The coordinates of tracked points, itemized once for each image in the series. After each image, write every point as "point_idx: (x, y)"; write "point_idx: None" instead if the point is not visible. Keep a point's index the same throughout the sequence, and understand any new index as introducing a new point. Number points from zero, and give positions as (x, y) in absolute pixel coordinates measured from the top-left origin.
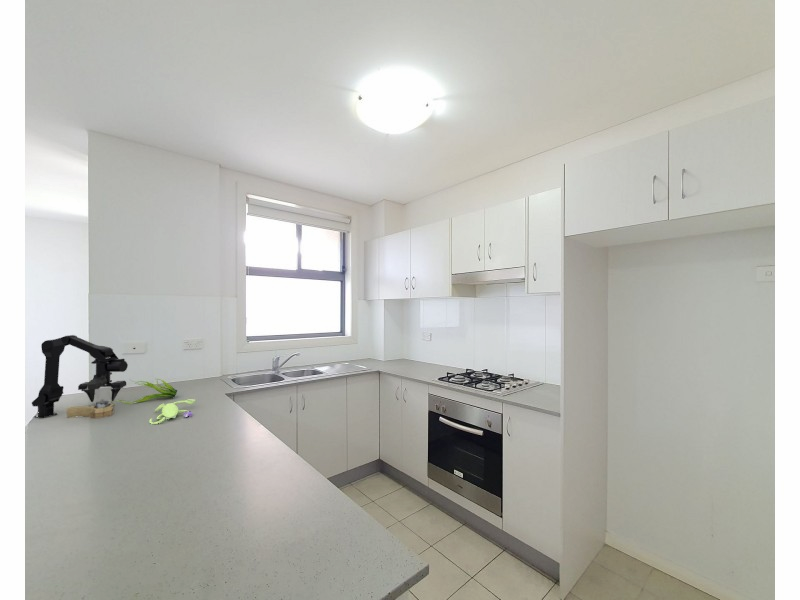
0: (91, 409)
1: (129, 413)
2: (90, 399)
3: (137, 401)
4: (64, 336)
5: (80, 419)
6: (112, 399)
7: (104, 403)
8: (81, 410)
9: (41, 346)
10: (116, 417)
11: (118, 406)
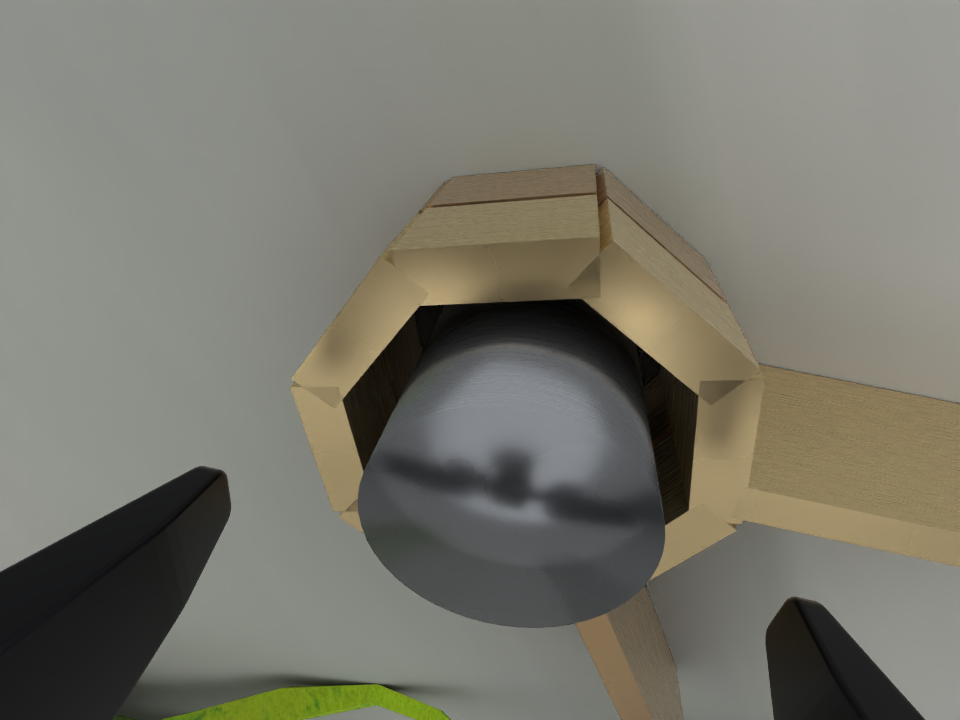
0: (717, 321)
1: (120, 273)
2: (882, 689)
3: (318, 700)
4: None
5: (875, 199)
6: (161, 496)
7: (403, 418)
8: (953, 473)
9: None
10: (189, 77)
11: (484, 651)
